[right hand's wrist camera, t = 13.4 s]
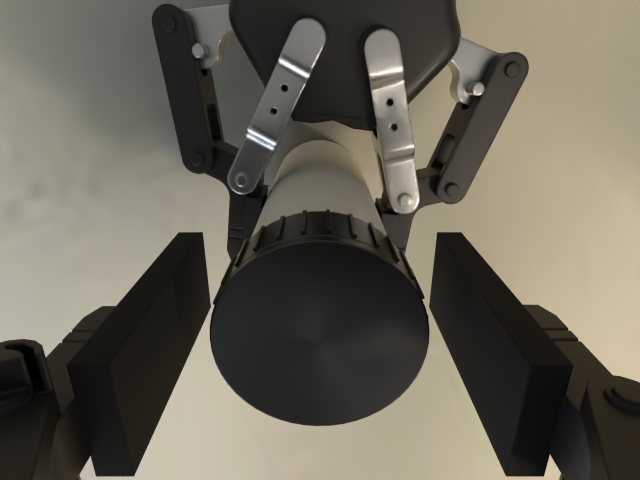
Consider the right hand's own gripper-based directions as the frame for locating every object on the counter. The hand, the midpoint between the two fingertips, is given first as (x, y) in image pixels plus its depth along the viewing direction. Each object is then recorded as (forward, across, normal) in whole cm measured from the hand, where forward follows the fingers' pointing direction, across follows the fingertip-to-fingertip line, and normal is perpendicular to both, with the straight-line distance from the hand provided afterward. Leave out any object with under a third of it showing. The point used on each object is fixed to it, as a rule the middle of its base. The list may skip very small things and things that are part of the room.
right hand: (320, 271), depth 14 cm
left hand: (+5, 0, -3) cm, 6 cm away
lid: (-3, 0, 0) cm, 3 cm away
